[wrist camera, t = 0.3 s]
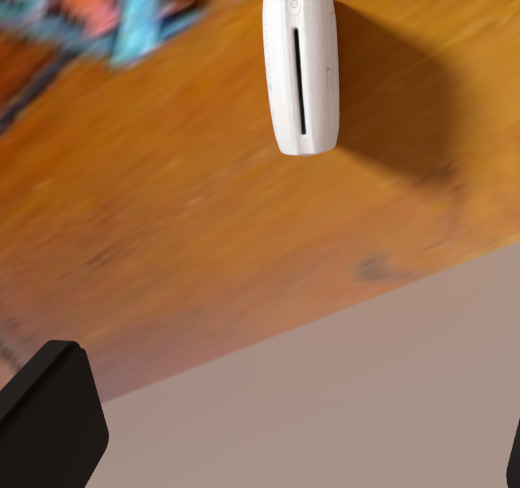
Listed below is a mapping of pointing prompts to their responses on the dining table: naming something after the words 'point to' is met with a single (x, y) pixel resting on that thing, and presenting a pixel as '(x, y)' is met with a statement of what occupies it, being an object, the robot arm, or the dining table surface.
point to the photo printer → (302, 74)
